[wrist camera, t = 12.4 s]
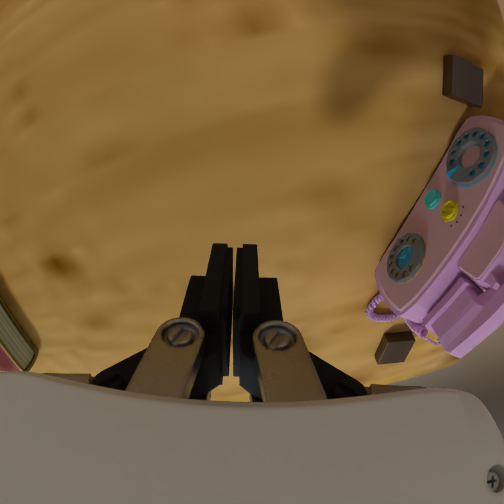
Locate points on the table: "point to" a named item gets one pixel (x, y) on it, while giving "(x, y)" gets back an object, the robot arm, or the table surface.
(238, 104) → the table surface
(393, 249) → the toy telephone
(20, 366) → the hardcover book
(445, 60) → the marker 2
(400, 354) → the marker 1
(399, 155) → the table surface
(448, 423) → the robot arm
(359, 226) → the table surface
